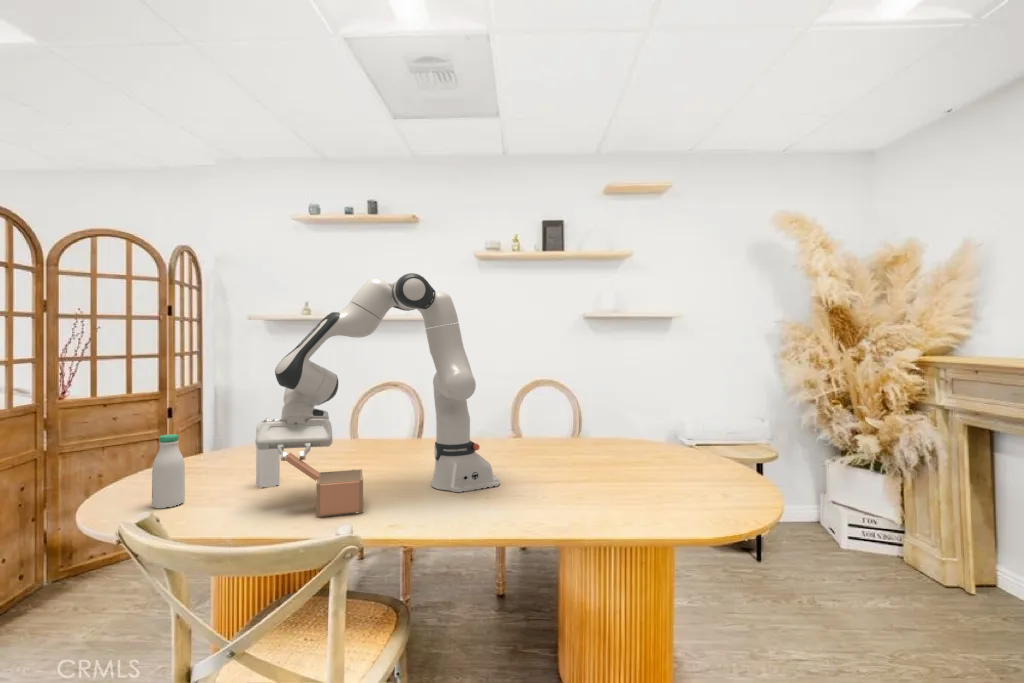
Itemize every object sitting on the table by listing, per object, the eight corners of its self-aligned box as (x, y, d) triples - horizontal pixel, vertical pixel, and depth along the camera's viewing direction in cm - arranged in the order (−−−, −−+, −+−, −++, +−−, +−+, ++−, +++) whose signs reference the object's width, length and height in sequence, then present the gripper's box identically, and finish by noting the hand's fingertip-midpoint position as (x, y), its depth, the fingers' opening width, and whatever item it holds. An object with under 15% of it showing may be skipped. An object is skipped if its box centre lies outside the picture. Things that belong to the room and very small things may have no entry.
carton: (361, 499, 147) (362, 469, 147) (363, 513, 135) (363, 480, 135) (318, 503, 143) (318, 472, 143) (315, 518, 131) (316, 484, 131)
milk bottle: (191, 502, 144) (191, 433, 144) (164, 510, 137) (165, 438, 137) (172, 499, 147) (172, 432, 147) (145, 507, 139) (145, 436, 140)
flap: (319, 472, 140) (290, 452, 138) (318, 477, 135) (287, 456, 133) (316, 476, 140) (287, 456, 137) (315, 481, 135) (284, 460, 133)
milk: (259, 489, 158) (259, 420, 157) (255, 484, 162) (255, 417, 162) (280, 485, 161) (279, 418, 161) (276, 481, 166) (275, 416, 166)
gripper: (257, 413, 141) (250, 455, 132) (333, 411, 147) (331, 450, 138) (259, 426, 145) (252, 467, 136) (333, 424, 152) (331, 463, 142)
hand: (293, 459), depth 137 cm, fingers closed on flap, 3 cm apart
